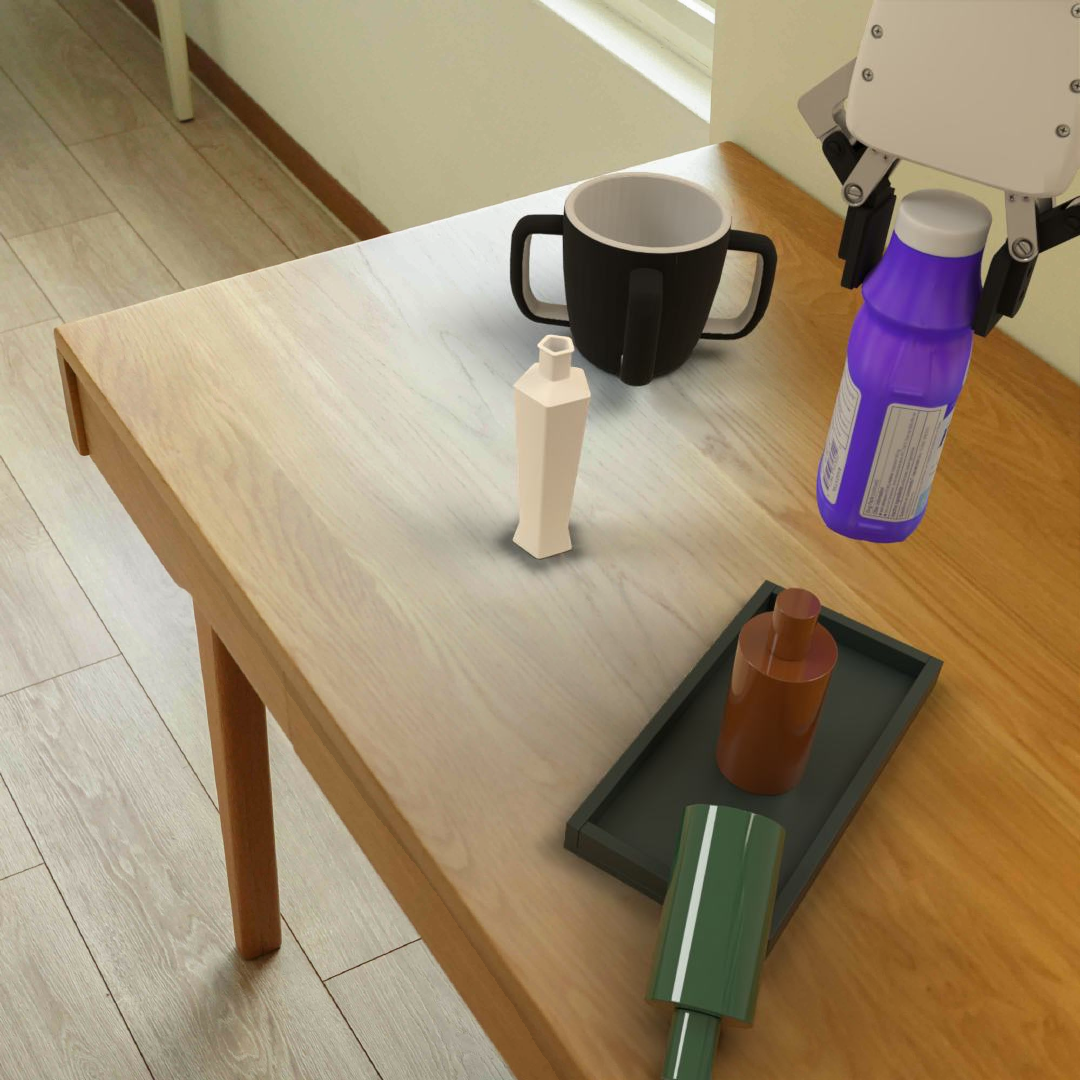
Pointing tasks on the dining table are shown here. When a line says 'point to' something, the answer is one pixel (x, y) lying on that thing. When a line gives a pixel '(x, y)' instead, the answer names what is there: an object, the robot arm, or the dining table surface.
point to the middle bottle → (776, 695)
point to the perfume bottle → (549, 446)
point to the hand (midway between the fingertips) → (923, 296)
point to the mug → (641, 271)
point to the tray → (694, 778)
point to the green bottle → (713, 931)
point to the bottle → (904, 368)
